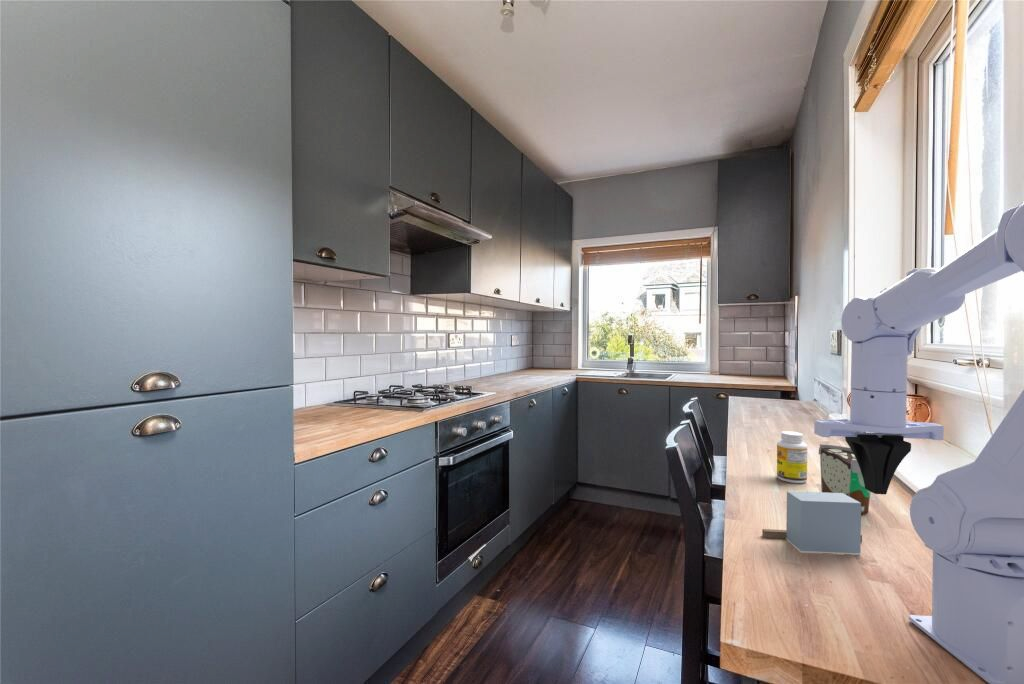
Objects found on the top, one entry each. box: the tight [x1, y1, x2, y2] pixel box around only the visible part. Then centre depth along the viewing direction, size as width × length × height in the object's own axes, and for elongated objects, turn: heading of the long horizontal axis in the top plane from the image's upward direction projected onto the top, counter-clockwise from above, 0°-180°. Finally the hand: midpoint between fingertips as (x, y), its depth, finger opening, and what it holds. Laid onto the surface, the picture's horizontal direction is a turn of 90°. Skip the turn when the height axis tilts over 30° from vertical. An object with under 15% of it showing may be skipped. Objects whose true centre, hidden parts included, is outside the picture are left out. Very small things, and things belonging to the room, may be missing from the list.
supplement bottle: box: [776, 430, 808, 484], centre depth 96 cm, size 6×6×10 cm
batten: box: [761, 528, 863, 543], centre depth 68 cm, size 1×14×1 cm, turn 85°
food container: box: [818, 443, 871, 517], centre depth 81 cm, size 12×6×10 cm, turn 168°
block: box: [785, 490, 862, 556], centre depth 65 cm, size 4×8×8 cm, turn 85°
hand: (875, 491), depth 59 cm, fingers closed
